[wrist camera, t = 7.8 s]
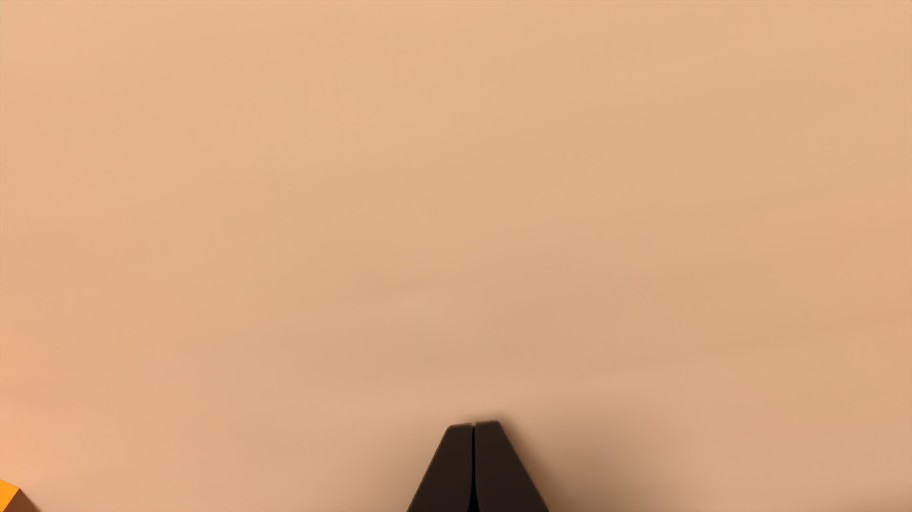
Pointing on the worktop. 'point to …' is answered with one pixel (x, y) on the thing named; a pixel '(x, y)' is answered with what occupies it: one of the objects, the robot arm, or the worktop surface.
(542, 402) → the worktop surface
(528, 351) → the worktop surface
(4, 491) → the pipe clamp
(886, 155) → the worktop surface
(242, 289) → the worktop surface
